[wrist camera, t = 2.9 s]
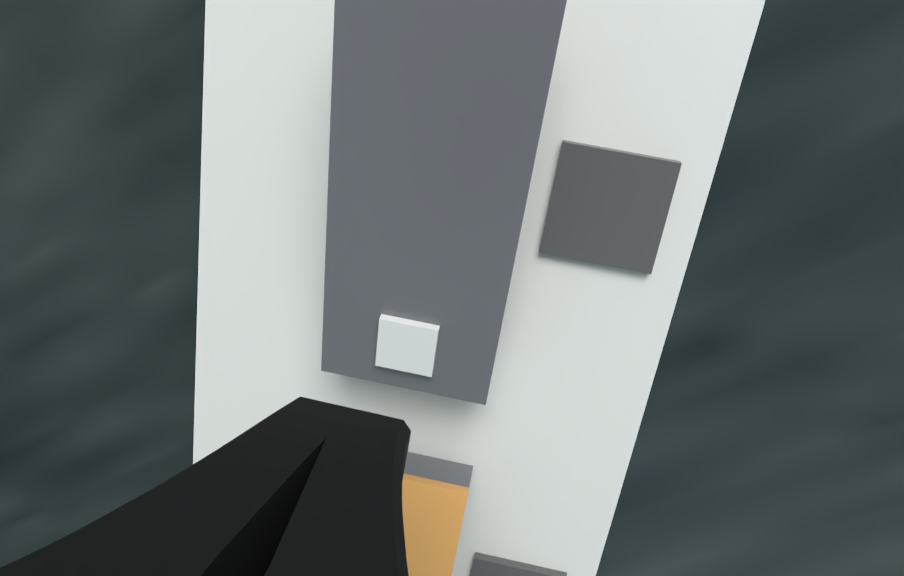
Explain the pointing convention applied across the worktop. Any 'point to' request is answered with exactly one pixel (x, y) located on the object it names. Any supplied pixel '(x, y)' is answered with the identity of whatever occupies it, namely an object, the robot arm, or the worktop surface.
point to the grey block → (430, 183)
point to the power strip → (534, 272)
